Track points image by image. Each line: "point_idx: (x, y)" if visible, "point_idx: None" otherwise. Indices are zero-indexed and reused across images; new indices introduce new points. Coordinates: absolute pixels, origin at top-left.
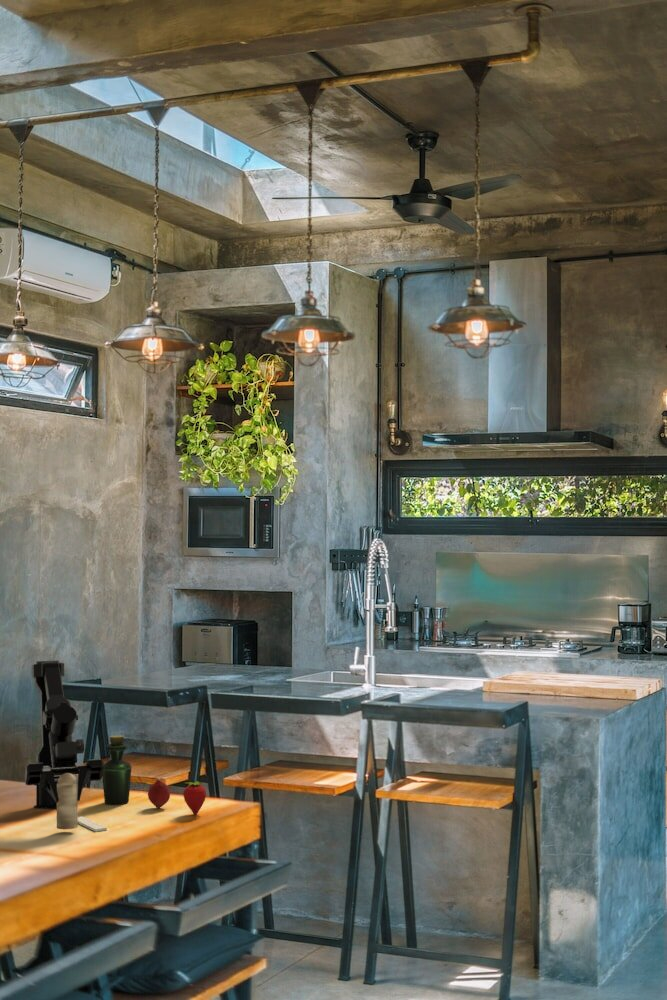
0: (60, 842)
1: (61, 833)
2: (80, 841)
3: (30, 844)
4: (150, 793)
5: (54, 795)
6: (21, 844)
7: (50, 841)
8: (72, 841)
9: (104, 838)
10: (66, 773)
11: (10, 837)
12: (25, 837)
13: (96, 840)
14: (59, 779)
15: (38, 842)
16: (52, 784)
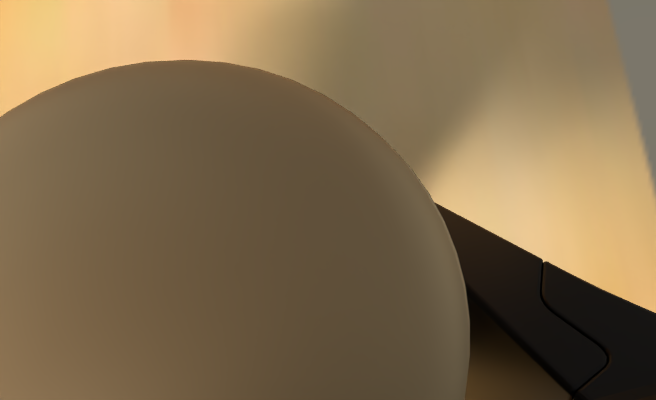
0: (297, 20)
1: None
2: (168, 24)
3: (479, 3)
4: None
5: (435, 204)
6: (534, 13)
7: (364, 59)
8: (221, 33)
9: (3, 79)
10: (152, 298)
11: (649, 221)
12: (548, 204)
13: (61, 32)
14: (423, 195)
15: (438, 46)
16: (567, 310)
